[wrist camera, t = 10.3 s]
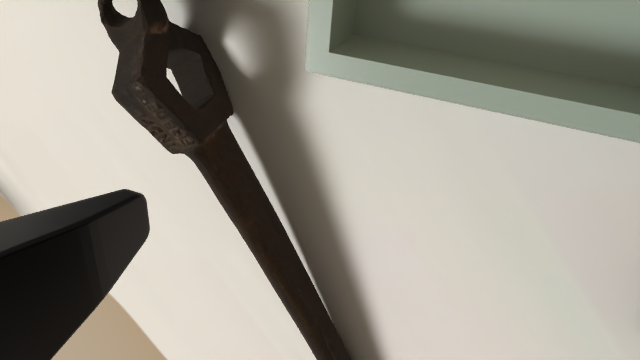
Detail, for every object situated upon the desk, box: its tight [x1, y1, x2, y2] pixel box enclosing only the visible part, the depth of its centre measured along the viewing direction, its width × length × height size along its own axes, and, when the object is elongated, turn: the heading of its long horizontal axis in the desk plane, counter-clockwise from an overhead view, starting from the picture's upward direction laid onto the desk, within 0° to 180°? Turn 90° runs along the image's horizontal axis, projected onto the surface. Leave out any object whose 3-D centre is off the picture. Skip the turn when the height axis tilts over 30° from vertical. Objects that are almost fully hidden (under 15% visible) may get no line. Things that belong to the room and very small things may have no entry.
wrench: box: [98, 0, 351, 360], centre depth 26 cm, size 5×5×30 cm
